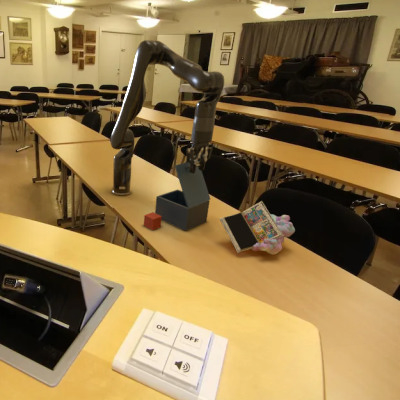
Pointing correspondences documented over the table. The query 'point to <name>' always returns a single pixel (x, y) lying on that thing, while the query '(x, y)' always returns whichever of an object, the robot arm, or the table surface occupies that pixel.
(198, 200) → the lid
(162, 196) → the hinged navy chest
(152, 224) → the block
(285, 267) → the table surface
